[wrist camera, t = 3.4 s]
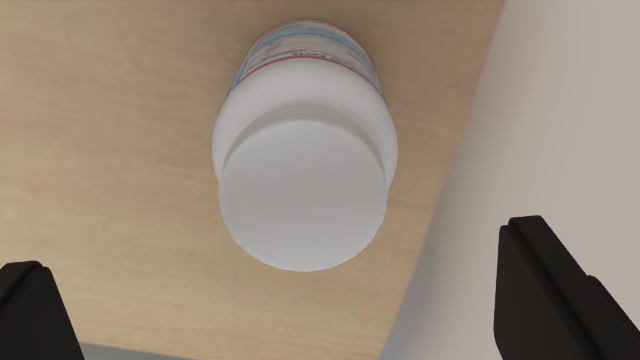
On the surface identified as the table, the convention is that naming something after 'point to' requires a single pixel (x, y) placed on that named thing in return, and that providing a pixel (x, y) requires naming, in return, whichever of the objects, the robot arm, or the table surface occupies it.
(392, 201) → the table surface
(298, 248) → the pill bottle
